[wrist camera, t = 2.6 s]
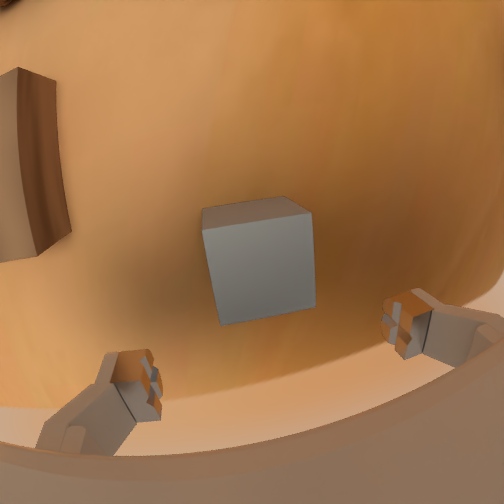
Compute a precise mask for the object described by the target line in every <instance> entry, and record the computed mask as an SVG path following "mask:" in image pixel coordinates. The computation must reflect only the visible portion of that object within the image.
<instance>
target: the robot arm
mask: <svg viewBox="0 0 504 504" xmlns="http://www.w3.org/2000/svg"><path fill="white" fill-rule="evenodd" d="M383 311H384V312H385V315H384V316H383V318H382V319H381V331H382V335H383V337H384V338H385V340H386V341H387V342H388V343H390V344H393V345H395V351H396V352H397V353H398V354H399V355H400V356H401V357H402V358H403V359H404V360H406V359H408V358H411V357H413V356H416V355H418V354H421V353H423V354H424V355H427V356H429V357H431V358H434V359H436V360H438V361H441V362H443V363H445V364H448V365H450V366H453V367H455V369H453V370H451V371H449V372H448V373H446V374H444V375H442V376H440V377H439V378H437V379H435V380H433V381H431V382H429V383H427V384H425V385H423V386H421V387H419V388H417V389H415V390H413V391H411V392H409V393H406V394H404V395H402V396H400V397H398V398H396V399H393V400H391V401H389V402H386V403H384V404H382V405H379V406H377V407H374V408H372V409H369V410H367V411H364V412H362V413H359V414H356V415H354V416H350V417H348V418H345V419H342V420H339V421H336V422H333V423H330V424H327V425H324V426H320V427H317V428H314V429H310V430H307V431H304V432H300V433H297V434H292V435H288V436H284V437H280V438H276V439H272V440H268V441H263V442H258V443H253V444H248V445H243V446H238V447H232V448H226V449H218V450H211V451H203V452H194V453H184V454H172V455H155V456H113V455H114V454H115V453H116V451H117V450H118V449H119V447H120V446H121V445H122V443H123V442H124V440H125V439H126V438H127V436H128V435H129V434H130V432H131V431H132V430H133V428H134V427H135V425H136V423H137V422H148V421H159V420H161V410H162V405H161V402H160V400H159V399H160V398H161V397H162V396H163V386H162V380H161V376H160V373H159V371H158V369H157V368H156V367H154V366H153V361H154V358H153V356H152V353H151V351H150V350H149V349H143V350H132V351H122V352H112V353H107V354H105V356H104V359H103V361H102V364H101V367H100V370H99V373H98V375H97V378H96V381H95V384H91V385H89V386H88V387H87V388H86V389H85V390H83V391H82V392H81V393H80V394H78V395H77V396H76V397H75V398H74V399H72V400H71V401H70V402H69V403H68V404H66V405H65V406H64V407H63V408H62V409H60V410H59V411H58V412H57V413H56V414H54V415H53V416H52V417H51V418H50V419H48V420H47V421H46V422H45V423H44V425H43V428H42V431H41V433H40V436H39V439H38V442H37V444H36V447H35V448H29V447H24V446H19V445H14V444H10V443H5V442H1V441H0V504H504V318H503V317H501V316H500V315H498V314H494V313H489V312H484V311H479V310H474V309H469V308H464V307H459V306H455V305H450V304H446V305H444V304H443V303H441V302H440V301H438V300H437V299H435V298H434V297H433V296H431V295H430V294H428V293H427V292H425V291H424V290H422V289H421V288H415V289H412V290H409V291H407V292H404V293H401V294H398V295H395V296H392V297H389V298H386V299H385V300H384V302H383Z"/></svg>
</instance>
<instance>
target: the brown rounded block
mask: <svg viewBox="0 0 504 504" xmlns="http://www.w3.org/2000/svg"><path fill="white" fill-rule="evenodd" d="M11 1H12V0H0V7H3V6H5V5H7V4H8V3H10V2H11Z"/></svg>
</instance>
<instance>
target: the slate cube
mask: <svg viewBox="0 0 504 504" xmlns="http://www.w3.org/2000/svg"><path fill="white" fill-rule="evenodd" d="M202 235H203V241H204V246H205V251H206V257H207V262H208V267H209V272H210V277H211V283H212V288H213V292H214V297H215V302H216V307H217V312H218V317H219V321H220V326H223V325H229V324H235V323H240V322H246V321H251V320H256V319H262V318H267V317H272V316H277V315H282V314H287V313H291V312H296V311H301V310H305V309H310V308H314V307H316V289H315V262H314V242H313V225H312V213H311V212H309V211H308V210H306V209H304V208H303V207H301V206H300V205H298V204H296V203H295V202H293V201H291V200H290V199H288V198H286V197H285V196H281V197H274V198H267V199H260V200H253V201H247V202H240V203H234V204H227V205H221V206H215V207H209V208H203V209H202Z"/></svg>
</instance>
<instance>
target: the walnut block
mask: <svg viewBox="0 0 504 504" xmlns="http://www.w3.org/2000/svg"><path fill="white" fill-rule="evenodd" d="M71 231H72V230H71V225H70V220H69V215H68V210H67V205H66V199H65V193H64V186H63V179H62V172H61V164H60V155H59V144H58V131H57V112H56V81H54V80H52V79H49V78H46V77H44V76H41V75H39V74H36V73H33V72H31V71H28V70H25V69H22V68H20V67H17V68H15V69H13V70H11V71H9V72H7V73H5V74H3V75H1V76H0V263H1V262H7V261H12V260H18V259H24V258H30V257H37V256H38V255H40V254H41V253H42V252H44V251H45V250H46V249H48V248H49V247H50V246H52V245H53V244H54V243H56V242H57V241H58V240H60V239H61V238H63V237H64V236H65V235H67V234H68V233H70V232H71Z"/></svg>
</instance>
